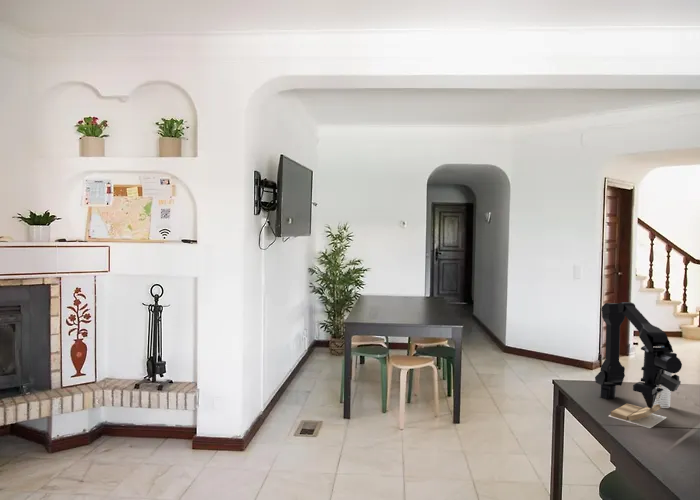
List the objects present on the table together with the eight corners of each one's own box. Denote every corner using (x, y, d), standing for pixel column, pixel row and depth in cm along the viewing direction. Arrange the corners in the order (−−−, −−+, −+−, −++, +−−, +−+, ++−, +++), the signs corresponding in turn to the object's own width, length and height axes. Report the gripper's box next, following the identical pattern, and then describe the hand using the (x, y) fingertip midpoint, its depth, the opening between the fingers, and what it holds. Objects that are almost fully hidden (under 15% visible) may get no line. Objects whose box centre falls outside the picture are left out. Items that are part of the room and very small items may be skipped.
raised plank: (645, 411, 190) (643, 407, 191) (661, 407, 186) (659, 403, 187) (629, 420, 180) (627, 416, 181) (646, 417, 176) (644, 412, 177)
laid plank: (626, 407, 195) (627, 403, 195) (642, 411, 191) (642, 407, 191) (610, 415, 185) (610, 411, 185) (626, 420, 181) (626, 416, 181)
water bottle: (672, 411, 195) (677, 347, 194) (653, 409, 197) (657, 346, 195) (665, 405, 202) (669, 343, 201) (646, 403, 203) (650, 342, 202)
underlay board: (626, 408, 196) (626, 406, 196) (666, 420, 186) (666, 417, 186) (607, 418, 185) (608, 415, 185) (649, 431, 175) (650, 428, 175)
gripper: (669, 375, 169) (666, 420, 170) (686, 366, 182) (684, 408, 182) (633, 367, 178) (630, 410, 178) (652, 359, 190) (650, 400, 191)
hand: (650, 407), depth 182 cm, fingers closed
